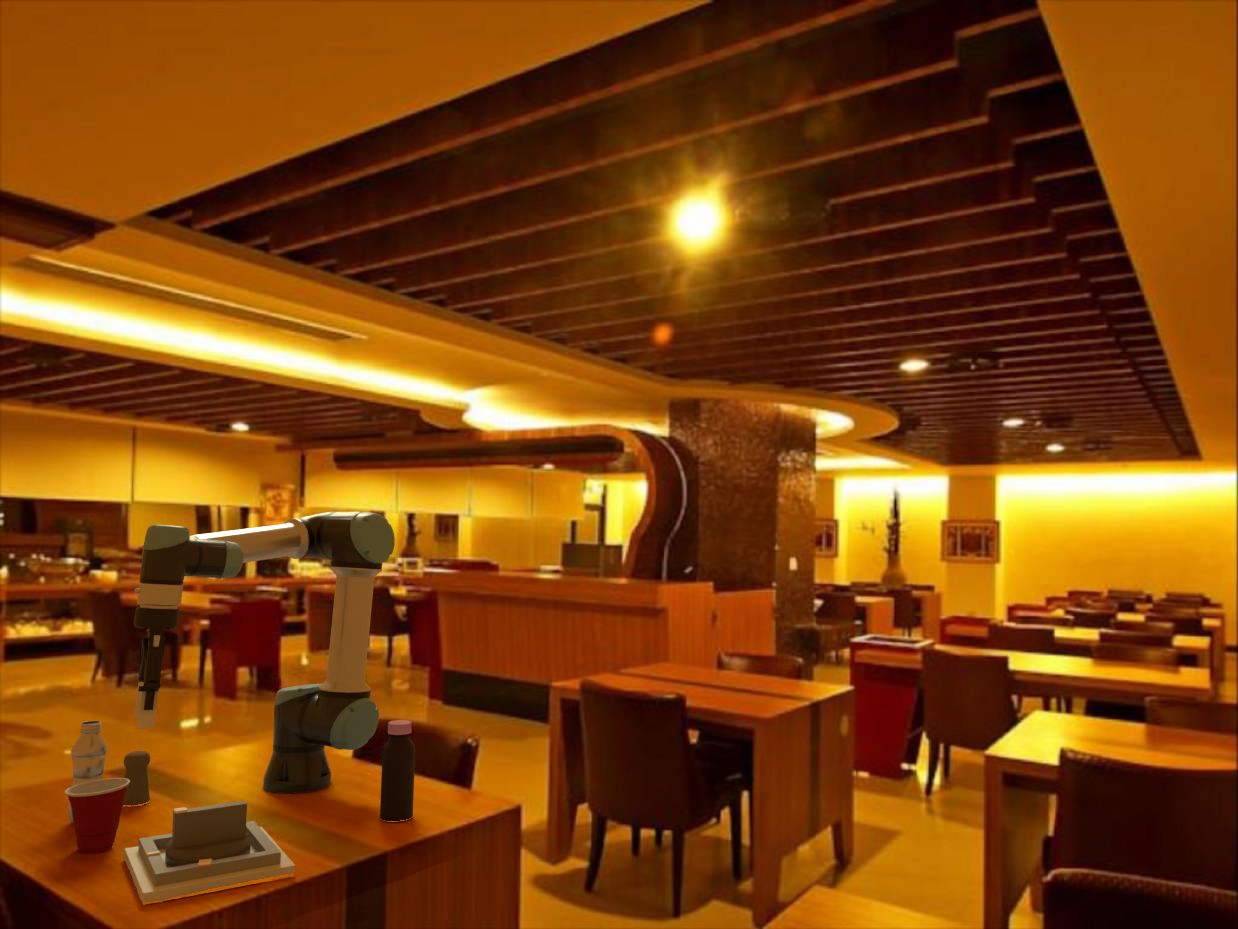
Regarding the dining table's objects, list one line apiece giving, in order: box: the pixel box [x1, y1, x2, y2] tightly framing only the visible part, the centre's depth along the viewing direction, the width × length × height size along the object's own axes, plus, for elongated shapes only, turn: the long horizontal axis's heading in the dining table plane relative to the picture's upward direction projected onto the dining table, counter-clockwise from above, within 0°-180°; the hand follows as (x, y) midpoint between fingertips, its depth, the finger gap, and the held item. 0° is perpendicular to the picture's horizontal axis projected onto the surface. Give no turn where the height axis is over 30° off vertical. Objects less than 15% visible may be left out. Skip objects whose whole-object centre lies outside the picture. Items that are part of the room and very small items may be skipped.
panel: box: [123, 820, 296, 903], centre depth 166 cm, size 24×24×4 cm
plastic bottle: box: [67, 720, 108, 823], centre depth 190 cm, size 6×7×20 cm
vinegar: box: [379, 719, 416, 822], centre depth 197 cm, size 7×7×20 cm
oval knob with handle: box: [165, 800, 251, 867], centre depth 167 cm, size 14×14×9 cm
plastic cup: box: [64, 777, 130, 855], centre depth 175 cm, size 11×11×12 cm
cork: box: [123, 750, 151, 806], centre depth 203 cm, size 6×6×11 cm
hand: (143, 722), depth 172 cm, fingers open, 13 cm apart
